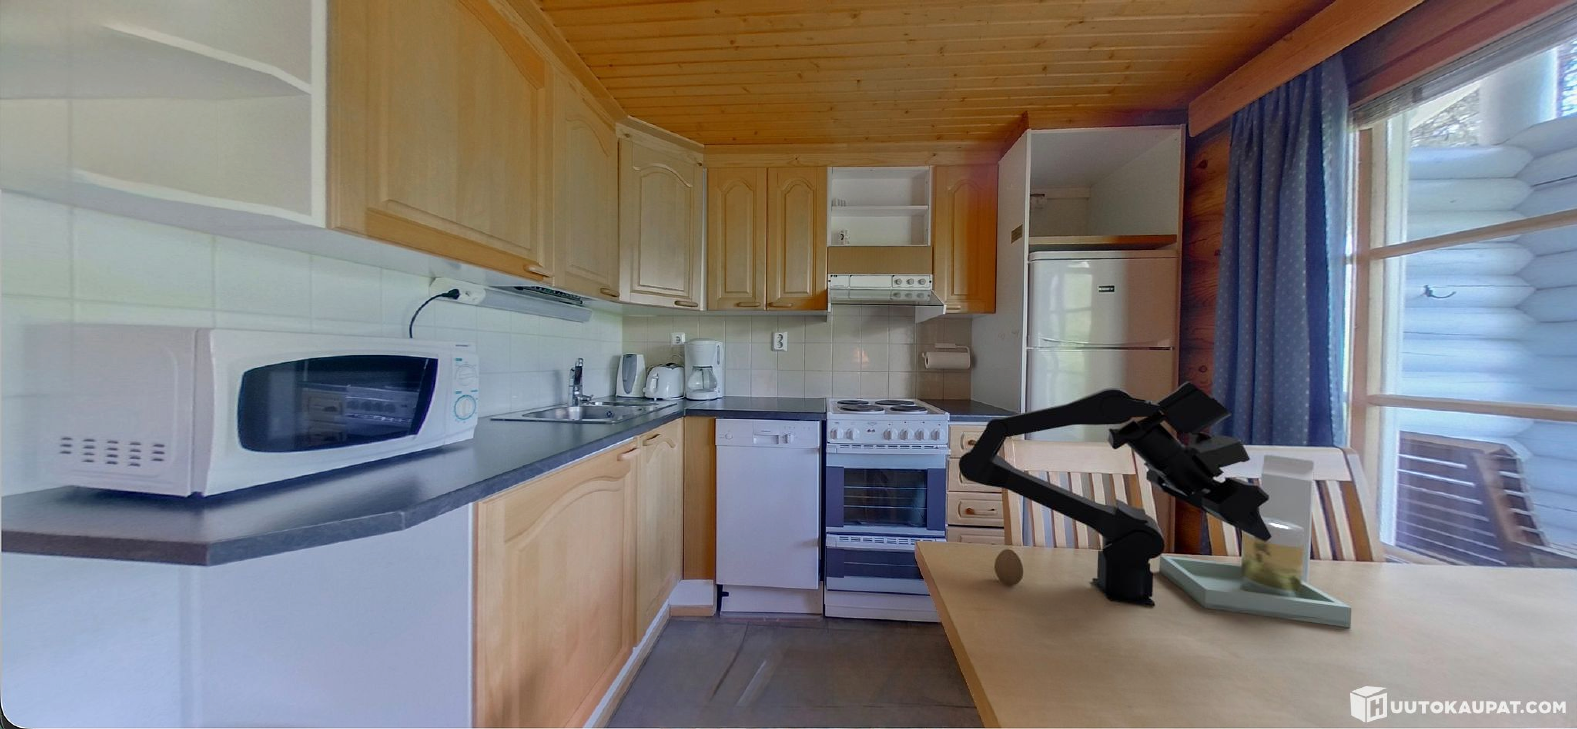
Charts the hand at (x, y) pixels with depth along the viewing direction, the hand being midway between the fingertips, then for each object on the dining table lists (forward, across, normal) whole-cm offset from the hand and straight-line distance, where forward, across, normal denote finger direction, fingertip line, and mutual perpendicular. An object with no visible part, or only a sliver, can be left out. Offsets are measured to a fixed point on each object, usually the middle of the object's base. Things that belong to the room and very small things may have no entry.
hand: (1242, 526), depth 66 cm
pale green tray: (+13, +6, +6) cm, 16 cm away
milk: (+22, +17, -3) cm, 28 cm away
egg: (-14, -1, +33) cm, 36 cm away
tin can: (+15, +6, +3) cm, 16 cm away
